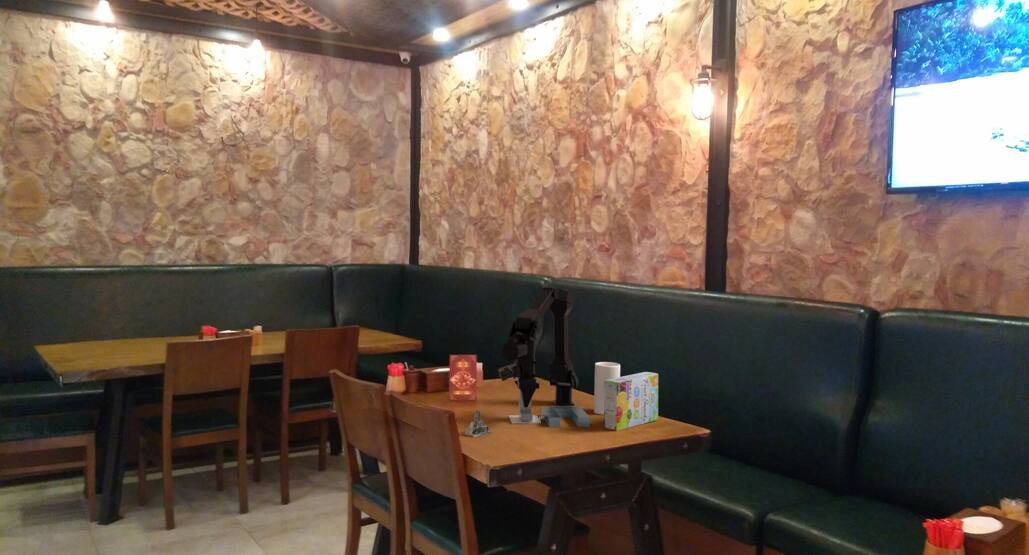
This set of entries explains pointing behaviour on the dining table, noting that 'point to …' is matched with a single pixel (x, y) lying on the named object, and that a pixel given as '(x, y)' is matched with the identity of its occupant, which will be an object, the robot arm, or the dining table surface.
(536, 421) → the tile
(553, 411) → the frame
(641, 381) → the snack box
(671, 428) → the dining table surface
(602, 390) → the cup
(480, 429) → the house of cards
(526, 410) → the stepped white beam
